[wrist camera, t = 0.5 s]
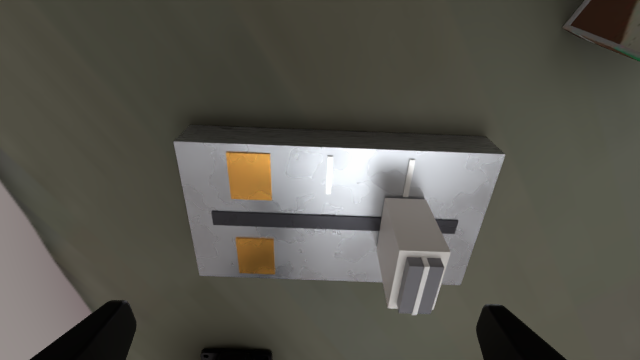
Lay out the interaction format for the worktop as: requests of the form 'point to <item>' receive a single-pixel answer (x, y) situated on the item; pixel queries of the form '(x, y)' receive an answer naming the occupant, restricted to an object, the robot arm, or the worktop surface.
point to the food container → (609, 25)
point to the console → (325, 197)
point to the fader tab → (411, 255)
